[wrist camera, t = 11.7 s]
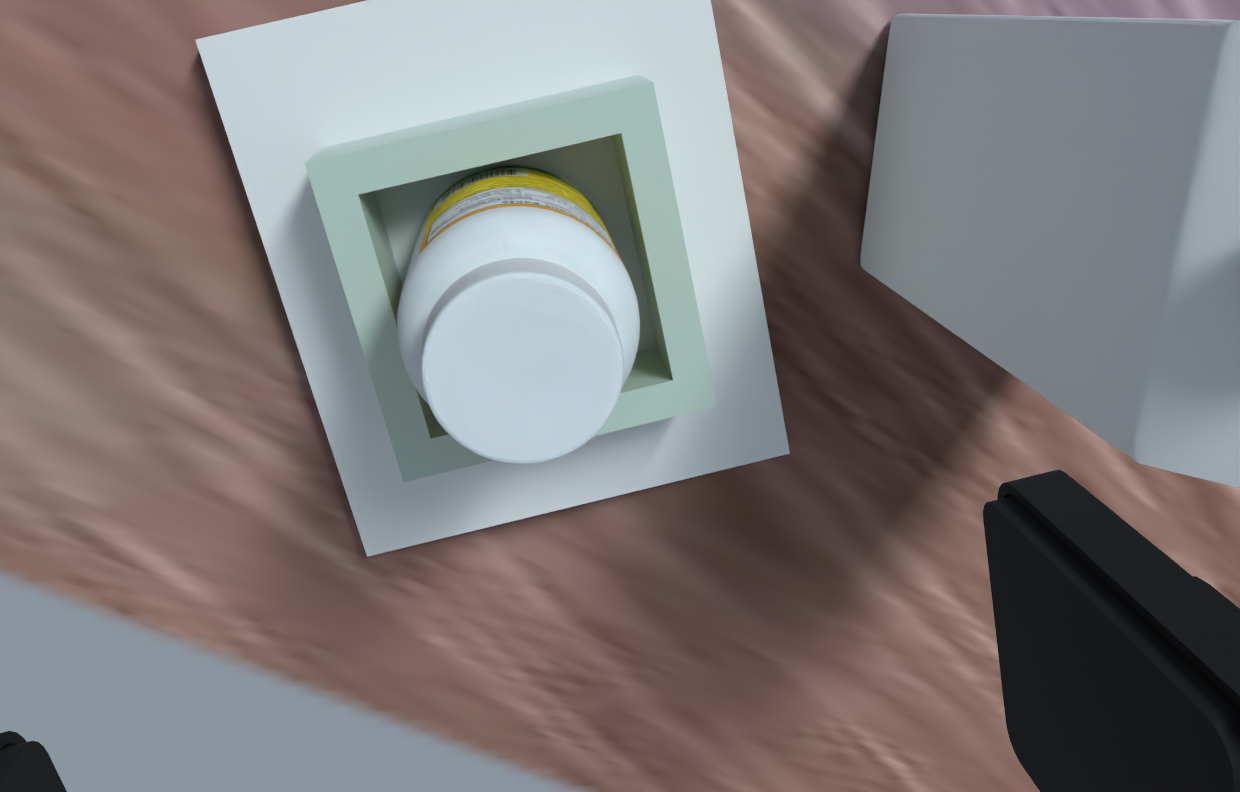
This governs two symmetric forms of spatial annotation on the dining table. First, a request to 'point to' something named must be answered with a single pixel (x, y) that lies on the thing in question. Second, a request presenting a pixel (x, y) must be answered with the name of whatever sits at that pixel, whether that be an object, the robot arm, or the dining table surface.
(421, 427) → the cup holder
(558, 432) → the supplement bottle
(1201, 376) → the milk carton
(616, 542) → the dining table surface
